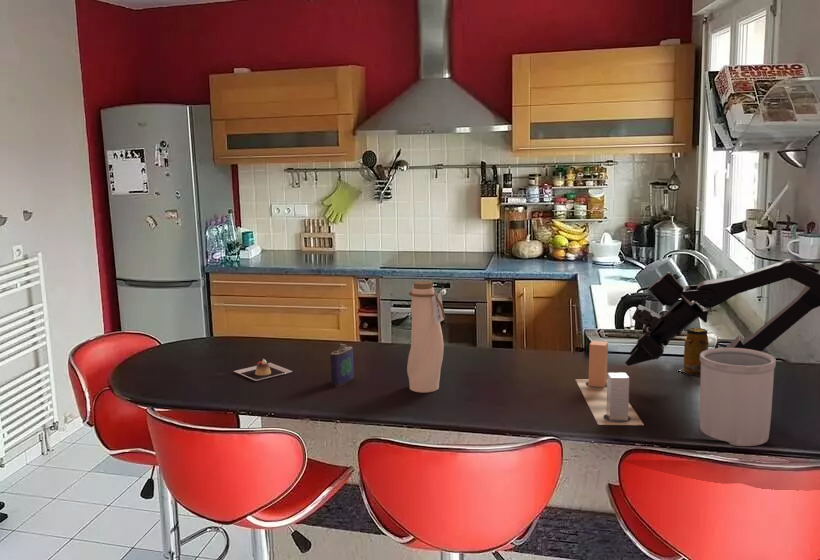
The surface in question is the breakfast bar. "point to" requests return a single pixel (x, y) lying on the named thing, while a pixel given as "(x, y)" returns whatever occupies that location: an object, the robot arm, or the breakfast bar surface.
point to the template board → (603, 404)
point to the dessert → (263, 370)
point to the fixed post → (617, 396)
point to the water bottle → (425, 338)
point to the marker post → (598, 363)
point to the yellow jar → (694, 350)
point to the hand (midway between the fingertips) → (628, 359)
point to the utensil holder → (736, 395)
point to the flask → (342, 366)
